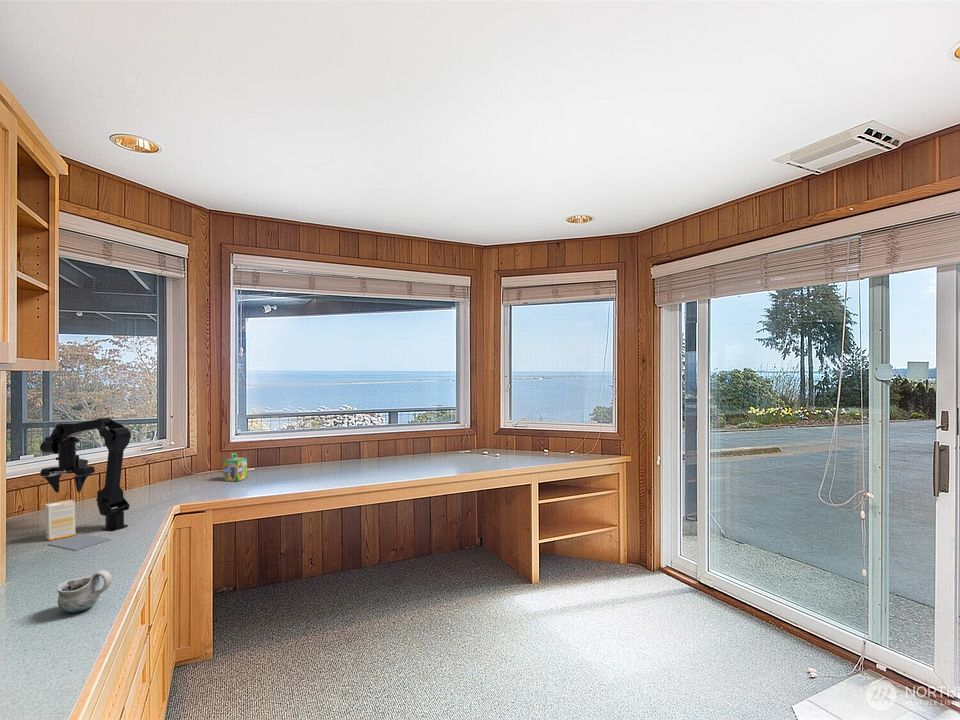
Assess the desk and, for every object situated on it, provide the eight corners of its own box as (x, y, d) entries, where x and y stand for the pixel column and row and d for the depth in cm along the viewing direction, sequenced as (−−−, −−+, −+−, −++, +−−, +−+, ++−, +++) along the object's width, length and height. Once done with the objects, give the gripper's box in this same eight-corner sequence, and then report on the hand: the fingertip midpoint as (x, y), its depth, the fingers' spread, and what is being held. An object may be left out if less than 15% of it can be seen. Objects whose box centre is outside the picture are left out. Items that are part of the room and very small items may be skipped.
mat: (110, 540, 200) (110, 539, 200) (76, 550, 189) (76, 549, 189) (83, 534, 206) (83, 533, 206) (47, 544, 195) (47, 543, 195)
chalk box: (237, 481, 294) (237, 454, 294) (222, 481, 295) (222, 454, 295) (247, 478, 303) (247, 451, 303) (233, 477, 305) (233, 451, 304)
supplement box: (72, 533, 208) (71, 499, 208) (75, 535, 205) (75, 501, 205) (45, 538, 202) (44, 503, 202) (48, 541, 199) (48, 505, 199)
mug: (68, 603, 148) (67, 566, 148) (119, 598, 152) (119, 562, 152) (49, 619, 139) (49, 580, 139) (105, 613, 142) (104, 575, 142)
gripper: (104, 450, 227) (105, 487, 227) (61, 450, 228) (62, 488, 228) (83, 454, 216) (84, 493, 216) (38, 455, 217) (39, 494, 217)
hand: (68, 492), depth 219 cm, fingers open, 9 cm apart
